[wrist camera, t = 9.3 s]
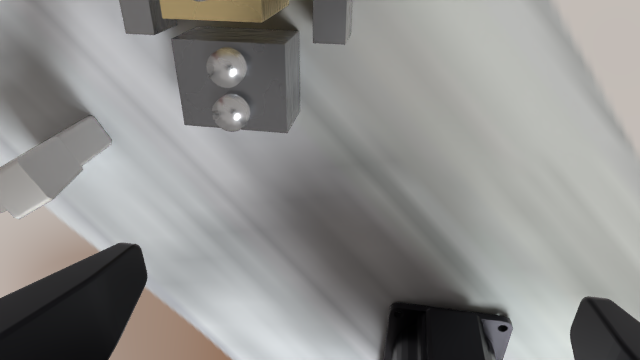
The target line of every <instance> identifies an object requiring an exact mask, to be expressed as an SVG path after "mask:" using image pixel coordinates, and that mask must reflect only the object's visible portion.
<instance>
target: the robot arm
mask: <svg viewBox="0 0 640 360" xmlns="http://www.w3.org/2000/svg"><path fill="white" fill-rule="evenodd" d="M146 282H147V270H146V266H145V262H144V258H143V254H142V250H141V248H140V246H139V245H137V244H131V243H118V244H116V245H114V246H111V247H109V248H107V249H105V250H103V251H101V252H99V253H97V254H94V255H92V256H90V257H88V258H86V259H83V260H81V261H79V262H77V263H75V264H73V265H71V266H69V267H66V268H64V269H62V270H60V271H58V272H56V273H53V274H51V275H49V276H47V277H45V278H43V279H41V280H38V281H36V282H34V283H32V284H30V285H28V286H26V287H23V288H21V289H19V290H17V291H15V292H13V293H10V294H8V295H6V296H4V297H2V298H0V360H108V359H109V358H110V356H111V354H112V352H113V351H114V349H115V347H116V345H117V343H118V341H119V339H120V338H121V336H122V333H123V331H124V329H125V327H126V325H127V323H128V321H129V319H130V317H131V314H132V312H133V310H134V308H135V306H136V304H137V302H138V300H139V298H140V295H141V293H142V291H143V289H144V287H145V285H146ZM396 311H400V312H396ZM500 325H504V326H500ZM512 330H513V327H512V323H511V320H510V319H509V318H507V317H505V316H498V315H491V314H483V313H475V312H468V311H460V310H452V309H445V308H437V307H429V306H422V305H414V304H406V303H394V304H392V305H391V306H390V311H389V319H388V327H387V334H386V342H385V350H384V358H383V360H503V357H504V354H505V351H506V348H507V345H508V342H509V339H510V336H511V333H512ZM570 339H571V344H572V349H573V354H574V358H575V360H640V322H639V321H637V320H636V319H635V318H633V317H632V316H631V315H630V314H628V313H627V312H626V311H624V310H623V309H622V308H620V307H619V306H618V305H617V304H615V303H614V302H613V301H611V300H609V299H606V298H598V297H589V296H588V297H585V298H583V299H582V301H581V302H580V305H579V308H578V310H577V313H576V315H575V318H574V321H573V323H572V326H571V330H570Z"/></svg>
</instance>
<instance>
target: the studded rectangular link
mask: <svg viewBox="0 0 640 360" xmlns="http://www.w3.org/2000/svg"><path fill="white" fill-rule="evenodd" d="M119 2H120V7H121V12H122V17H123V21H124V26H125V31H126V34H144V35H156V34H158V33H160V32H163V31H165V30H167V29H170V28H172V27H174V26H177V21H176V19H163V18H162V12H161V6H160V0H119ZM351 20H352V0H313V43H324V44H344V45H345V44H346V42H347V40H348V38H349V36H350V34H351ZM171 40H172V46H173V53H174V59H175V66H176V72H177V79H178V85H179V92H180V98H181V104H182V111H183V117H184V124H185V125H192V126H204V127H217V128H222V129H224V130H226V131H230V132H234V131H238V130H240V129H242V130H254V131H267V132H279V133H288V131H289V129H290V128H291V126H292V124H293V122H294V121H295V119H296V117H297V116H298V114H299V112H300V65H299V31H289V30H267V29H246V28H224V27H202V26H198V27H196V28H193V29H191V30H189V31H187V32H185V33H183V34H181V35H179V36H177V37H174V38H172V39H171Z"/></svg>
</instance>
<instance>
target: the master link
mask: <svg viewBox="0 0 640 360" xmlns="http://www.w3.org/2000/svg"><path fill="white" fill-rule="evenodd" d="M288 5H289V0H160V6H161V12H162V18H163V19H187V20H211V21H234V22H258V23H263V22H264V21H266V20H267V19H269V18H270V17H272V16H273V15H274V14H276V13H277V12H279V11H280V10H282V9H283V8H285V7H286V6H288Z"/></svg>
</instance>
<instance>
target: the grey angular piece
mask: <svg viewBox="0 0 640 360" xmlns="http://www.w3.org/2000/svg"><path fill="white" fill-rule="evenodd" d="M111 144H112V139H111V138H110V137H109V136H108V134H107V133H106V132H105V130H104V129H103V128H102V126H101V125H100V124H99V123H98V121H97V120H96V119H95V117H93V116H90V115H89V116H87V117H86V118H84V119H82V120H81V121H79V122H77V123H75V124H74V125H72V126H70V127H68V128H67V129H65V130H63V131H61V132H60V133H58V134H56V135H55V136H53V137H51V138H49V139H48V140H46V141H44V142H42V143H41V144H39V145H37V146H36V147H34V148H32V149H30V150H29V151H27V152H25V153H24V154H22V155H20V156H18V157H17V158H15V159H13V160H12V161H10V162H8V163H7V164H5V165H3V166H1V167H0V213H3V212H5V211H8V212H9V213H10V214H11V215H12V216H13V217H14V218H17V219H21V218H23V217H24V216H26V215H28V214H30V213H31V212H33V211H35V210H36V209H38V208H40V207H41V206H43V205H45V204H47V203H48V202H50V201H52V200H53V199H54V198H55V197H56V196H57V195H58V194H59V193H60V192H61V191H62V190H63V189H64V188H65V187H66V186H67V185H68V184H69V183H70V182H71V181H72V180H73V179H74V178H75V177H76V176H77V175H78V174H79V173H80V172H81V171H82V170H83V168H82V166H83V165H84V164H85V163H87V162H88V161H90V160H91V159H92V158H94V157H95V156H96V155H98V154H99V153H100V152H102V151H103V150H105V149H106V148H107V147H109V146H110V145H111Z"/></svg>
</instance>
